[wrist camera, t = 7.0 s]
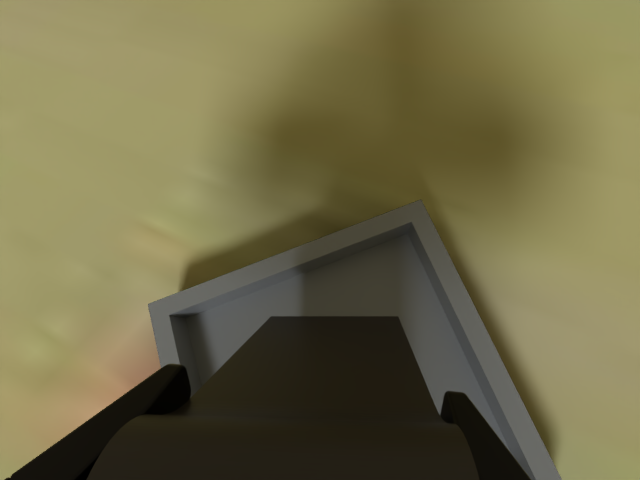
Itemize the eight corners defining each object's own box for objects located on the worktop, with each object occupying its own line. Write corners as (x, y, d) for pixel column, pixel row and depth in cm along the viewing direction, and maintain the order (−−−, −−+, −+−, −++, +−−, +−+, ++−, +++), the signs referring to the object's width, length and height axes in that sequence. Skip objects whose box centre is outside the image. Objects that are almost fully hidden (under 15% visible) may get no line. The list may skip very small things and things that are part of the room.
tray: (551, 502, 18) (586, 529, 15) (245, 621, 18) (223, 670, 15) (413, 218, 23) (421, 199, 20) (174, 310, 23) (147, 304, 20)
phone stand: (408, 547, 15) (557, 1167, 3) (261, 537, 15) (-23, 1027, 4) (398, 317, 18) (463, 240, 6) (273, 316, 18) (123, 244, 7)
